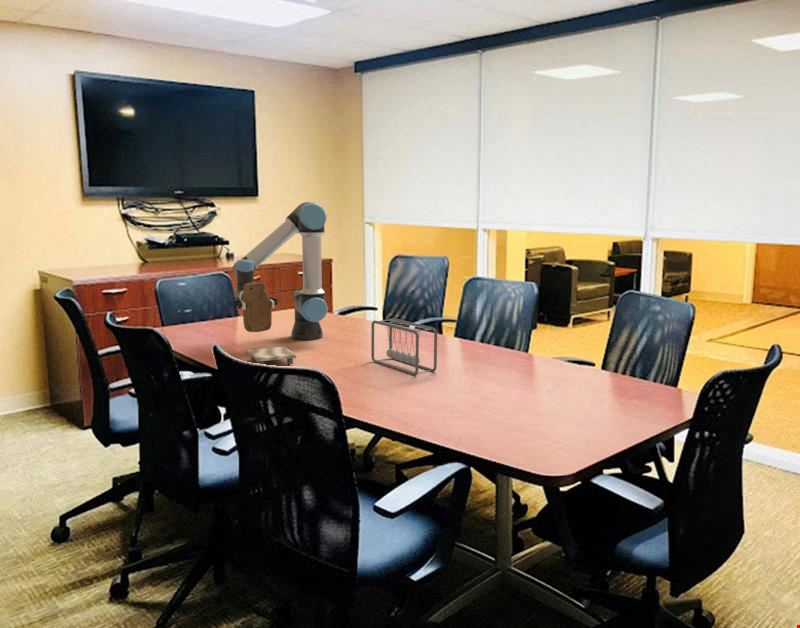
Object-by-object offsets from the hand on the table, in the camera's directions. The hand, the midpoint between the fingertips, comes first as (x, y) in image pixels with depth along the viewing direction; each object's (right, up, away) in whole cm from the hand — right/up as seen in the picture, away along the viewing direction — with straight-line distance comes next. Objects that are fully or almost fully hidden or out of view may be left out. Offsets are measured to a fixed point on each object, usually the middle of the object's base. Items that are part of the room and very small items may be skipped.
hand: (259, 305), depth 278 cm
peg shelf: (+4, -23, +5) cm, 24 cm away
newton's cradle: (+58, -25, 0) cm, 63 cm away
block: (-2, -10, +6) cm, 12 cm away
